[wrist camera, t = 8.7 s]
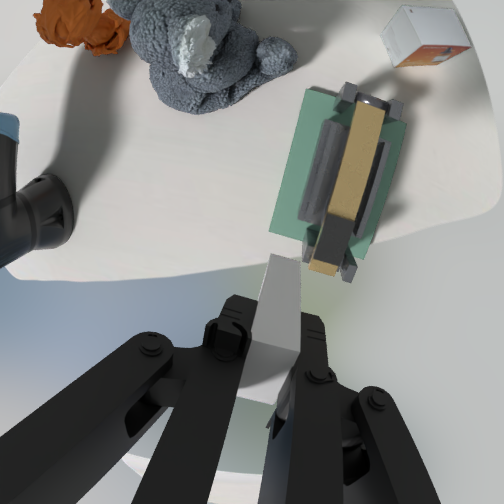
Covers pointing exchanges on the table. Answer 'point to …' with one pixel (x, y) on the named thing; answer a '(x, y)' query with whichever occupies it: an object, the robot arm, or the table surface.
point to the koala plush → (201, 51)
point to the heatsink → (326, 172)
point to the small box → (424, 36)
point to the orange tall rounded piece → (82, 25)
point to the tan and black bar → (349, 183)
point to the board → (300, 160)
